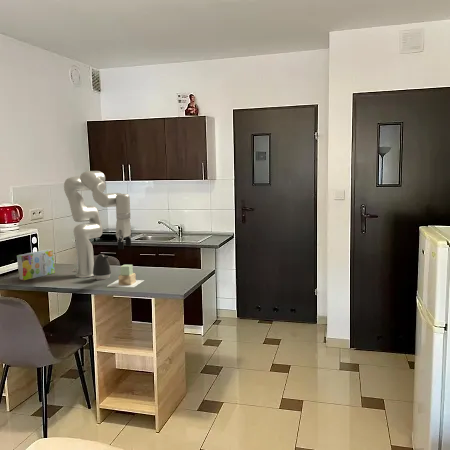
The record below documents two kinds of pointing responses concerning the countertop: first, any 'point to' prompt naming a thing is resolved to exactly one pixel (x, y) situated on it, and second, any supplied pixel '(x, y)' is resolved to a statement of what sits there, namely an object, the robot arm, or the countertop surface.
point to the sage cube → (126, 270)
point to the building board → (116, 284)
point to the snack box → (35, 264)
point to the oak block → (127, 279)
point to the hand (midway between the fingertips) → (124, 247)
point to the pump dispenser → (101, 267)
